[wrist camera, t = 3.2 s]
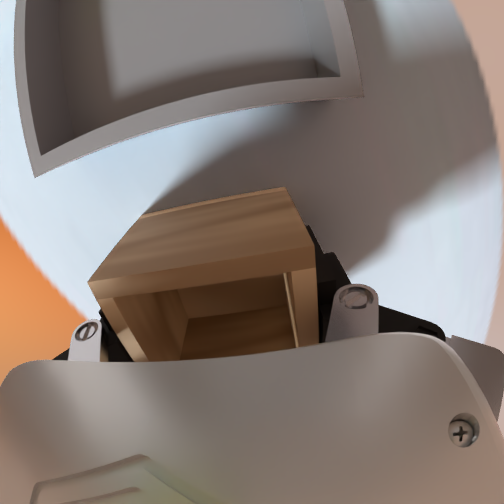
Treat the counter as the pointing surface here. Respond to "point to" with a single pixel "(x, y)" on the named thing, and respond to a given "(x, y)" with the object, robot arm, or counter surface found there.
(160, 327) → the oak crate
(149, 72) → the grey square tray
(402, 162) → the counter surface
